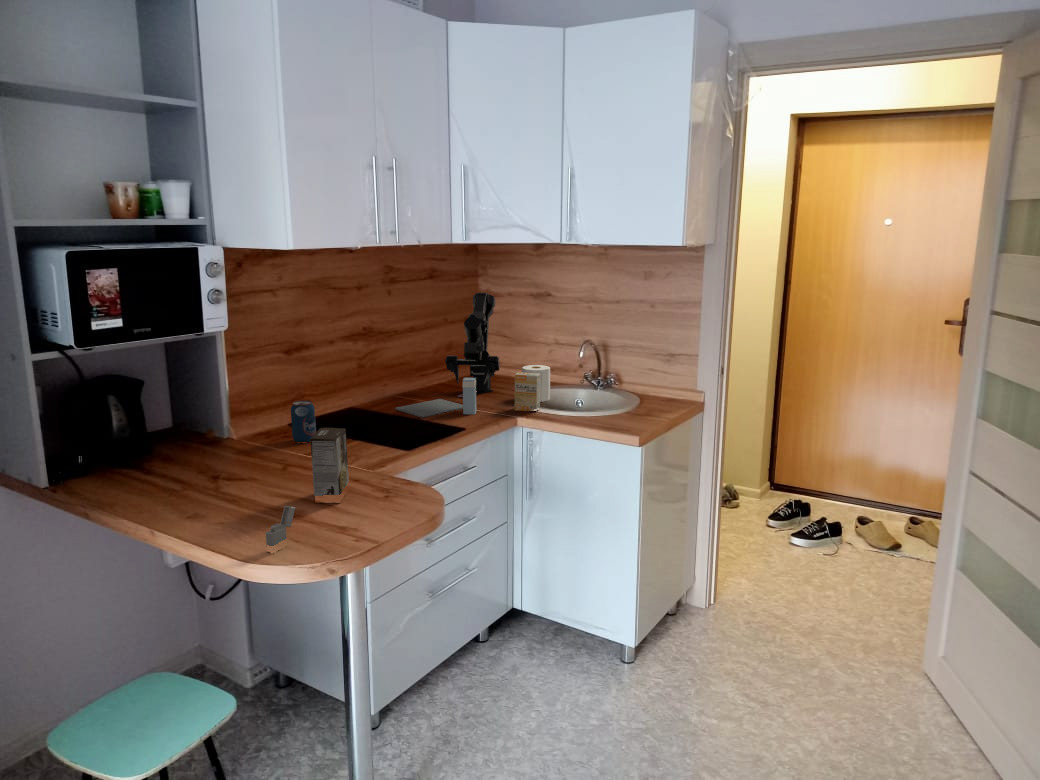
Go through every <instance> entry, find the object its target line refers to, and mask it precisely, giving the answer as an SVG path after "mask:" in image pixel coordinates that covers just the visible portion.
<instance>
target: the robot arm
mask: <svg viewBox="0 0 1040 780" xmlns="http://www.w3.org/2000/svg"><path fill="white" fill-rule="evenodd" d="M472 306H473V311H472V313H470V314H469V315H468V317H467V318H465V320H464V321H463V327H464V329H463V330H464V331H465V336H466V342H464V344H463V357H464V359H462V358H458V355H446V357H445V358H444V359H445V365H446V366H445V367H446V370H448V371H450V372H451V373H453V374H454V376H455V381H456V383H457V384H459V381H460V370H459V366H469V374H470V377H469V378H476V391H477V392H478V393H479V394H484V393H491V392H494V389H492V388H491V387H492V386H491V385H492V384H491V378H492V377H495V373H496V372H499V371H500V368H501V367H500V366H501V365H500V357H499V356H498V355H490V354H489V352H488V343H489V327H490V317H491V316H492V315H493V313H494V308H496V297H495V296H494V295H491V294H489V293H488V292H476V293H474V295H473V296H472ZM477 392H476V393H477ZM478 393H477V394H478Z"/></svg>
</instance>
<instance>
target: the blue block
mask: <svg viewBox="0 0 1040 780" xmlns="http://www.w3.org/2000/svg"><path fill="white" fill-rule="evenodd" d="M462 405H463V409H462V411H463V412H462V414H463V415H476V413H477V392H476V378H473V377H463V379H462Z"/></svg>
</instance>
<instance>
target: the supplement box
mask: <svg viewBox="0 0 1040 780" xmlns="http://www.w3.org/2000/svg"><path fill="white" fill-rule="evenodd" d="M540 375H541V374H535V373H522V371H521V372H520V371H519V372H516V373H515V374H514V411H519V412H520V411H521V412H527V411H526V410H534V409H537V408H539V407H540V408H541V406H540V405H541V402H540Z"/></svg>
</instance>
